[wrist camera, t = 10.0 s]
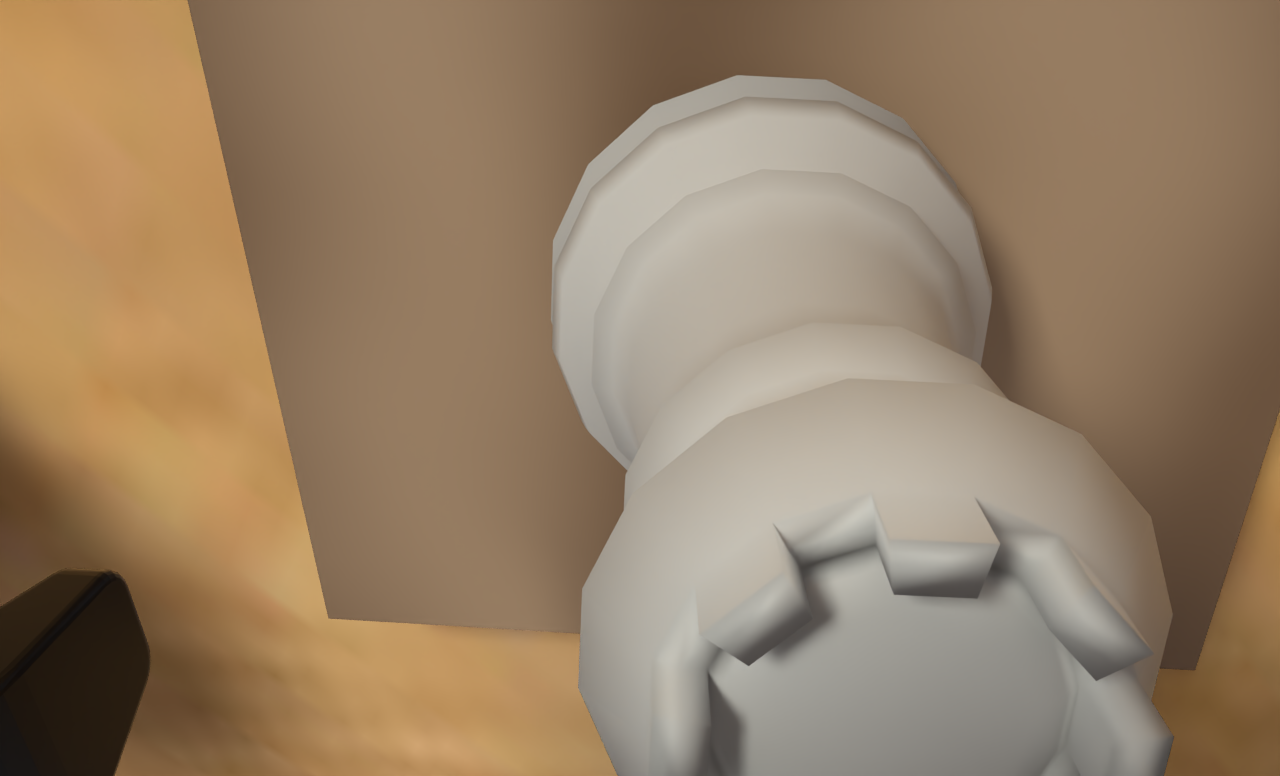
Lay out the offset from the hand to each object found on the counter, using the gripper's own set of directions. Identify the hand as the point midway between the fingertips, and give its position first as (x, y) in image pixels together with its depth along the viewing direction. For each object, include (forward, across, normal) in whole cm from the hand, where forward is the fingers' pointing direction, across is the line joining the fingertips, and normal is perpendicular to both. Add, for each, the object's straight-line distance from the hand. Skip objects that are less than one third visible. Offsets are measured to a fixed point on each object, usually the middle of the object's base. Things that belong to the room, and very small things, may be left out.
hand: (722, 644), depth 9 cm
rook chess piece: (+6, 0, 0) cm, 6 cm away
